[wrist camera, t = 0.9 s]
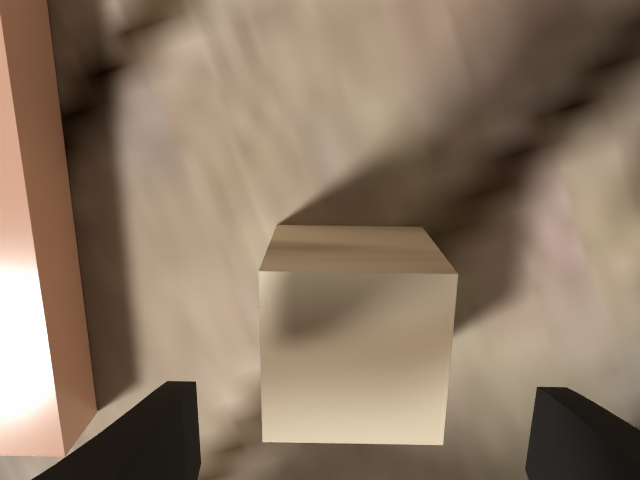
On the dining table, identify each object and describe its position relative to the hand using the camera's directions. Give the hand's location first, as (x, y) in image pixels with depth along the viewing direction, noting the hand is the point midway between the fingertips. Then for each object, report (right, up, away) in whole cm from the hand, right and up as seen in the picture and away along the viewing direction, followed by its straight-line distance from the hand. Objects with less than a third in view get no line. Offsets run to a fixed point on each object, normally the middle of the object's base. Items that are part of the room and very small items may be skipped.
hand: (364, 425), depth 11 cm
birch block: (0, +2, +7) cm, 8 cm away
